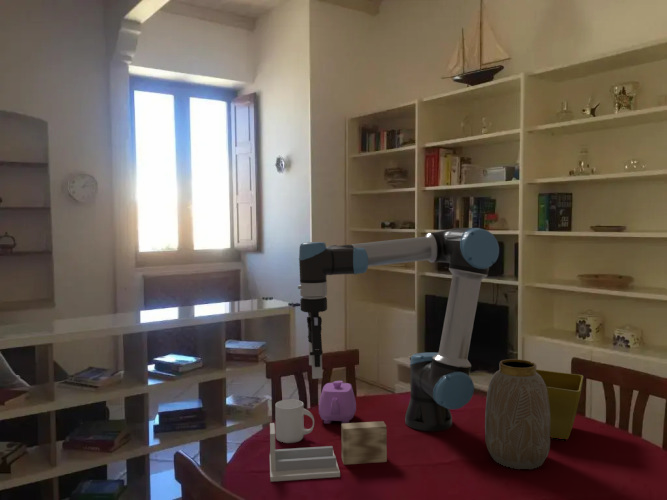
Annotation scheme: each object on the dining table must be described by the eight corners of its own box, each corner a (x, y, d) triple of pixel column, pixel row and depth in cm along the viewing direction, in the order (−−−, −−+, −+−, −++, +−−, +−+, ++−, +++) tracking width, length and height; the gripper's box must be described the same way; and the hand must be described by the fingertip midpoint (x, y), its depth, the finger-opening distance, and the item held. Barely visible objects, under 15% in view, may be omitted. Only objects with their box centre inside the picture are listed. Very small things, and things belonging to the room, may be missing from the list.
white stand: (333, 454, 157) (332, 415, 157) (340, 476, 143) (339, 434, 143) (269, 458, 155) (269, 419, 154) (270, 481, 141) (269, 438, 140)
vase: (548, 451, 158) (550, 358, 157) (551, 477, 142) (553, 374, 140) (486, 443, 164) (487, 353, 162) (482, 468, 147) (483, 369, 146)
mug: (311, 445, 164) (311, 409, 163) (272, 442, 166) (271, 407, 165) (317, 434, 172) (316, 400, 171) (279, 432, 174) (279, 398, 173)
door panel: (383, 455, 156) (383, 421, 156) (386, 462, 152) (386, 426, 151) (341, 458, 155) (341, 423, 154) (343, 465, 150) (343, 429, 150)
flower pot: (582, 425, 177) (583, 374, 176) (578, 447, 160) (579, 390, 159) (521, 416, 186) (521, 367, 185) (511, 436, 169) (511, 382, 168)
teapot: (322, 408, 195) (322, 373, 194) (357, 409, 194) (357, 374, 193) (314, 430, 175) (314, 390, 175) (353, 431, 174) (353, 391, 173)
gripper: (298, 291, 167) (300, 360, 168) (302, 304, 142) (304, 385, 144) (322, 290, 168) (324, 359, 169) (331, 303, 143) (333, 383, 144)
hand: (315, 371), depth 156 cm, fingers open, 13 cm apart
